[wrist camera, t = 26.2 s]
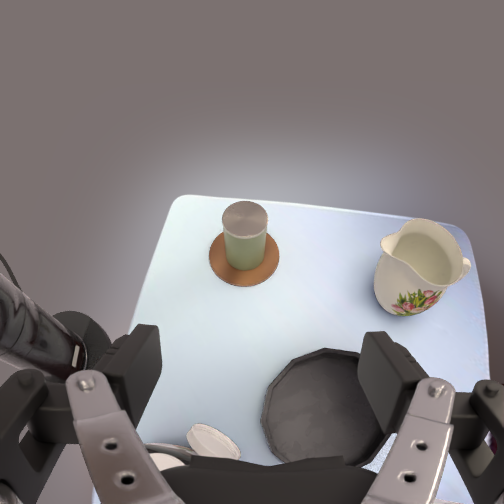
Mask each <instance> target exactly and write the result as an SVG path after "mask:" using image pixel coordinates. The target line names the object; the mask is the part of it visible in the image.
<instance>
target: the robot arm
mask: <svg viewBox="0 0 504 504" xmlns="http://www.w3.org/2000/svg"><path fill="white" fill-rule="evenodd" d="M0 260H1V261H2V263H3V264H4V266H5V268H6V269H7V271H8V273H9V275H10V277H11V279H12V281H13V283H14V284H13V283H12V282H10V281H9V280H8V279H7V278H5V276H3V275H2V274H1V273H0V360H1V361H3V362H6V363H8V364H10V365H12V366H14V367H16V368H19V369H21V370H20V371H17V372H15V373H14V374H13V375H11V376H10V378H9V379H8V380H7V381H6V382H5V383H4V384H3V385H2V386H1V387H0V504H36V502H37V500H38V498H39V496H40V494H41V492H42V490H43V488H44V486H45V484H46V482H47V480H48V478H49V476H50V474H51V472H52V470H53V468H54V466H55V464H56V462H57V460H58V458H59V456H60V454H61V452H62V451H63V449H64V447H65V445H66V444H79V445H80V448H81V451H82V454H83V457H84V460H85V463H86V466H87V468H88V471H89V474H90V477H91V479H92V482H93V484H94V487H95V490H96V492H97V494H98V497H99V499H100V502H101V504H433V503H434V500H435V497H436V494H437V491H438V488H439V484H440V481H441V478H442V474H443V471H444V467H445V463H446V459H447V455H448V452H449V454H450V456H451V458H452V460H453V462H454V464H455V466H456V468H457V469H458V471H459V473H460V475H461V477H462V479H463V481H464V483H465V485H466V487H467V489H468V492H469V494H470V496H471V498H472V500H473V502H474V504H504V386H503V385H501V384H500V383H498V382H495V381H492V380H480V381H478V382H477V383H476V384H475V386H474V389H473V391H472V393H466V392H455V389H454V387H453V386H452V385H451V384H450V383H449V382H447V381H446V380H443V379H440V378H434V377H429V376H428V375H427V373H426V372H425V371H424V370H423V368H422V367H421V366H420V365H419V363H418V362H416V360H415V359H414V357H413V356H412V355H411V354H410V353H409V351H408V350H407V349H406V348H405V347H403V346H401V345H400V344H398V343H396V342H395V343H394V342H393V341H392V339H391V338H390V337H389V336H388V334H387V333H386V332H385V331H380V332H366V334H365V336H364V339H363V344H362V349H361V354H360V359H359V363H358V370H357V373H358V380H359V382H360V384H361V386H362V388H363V390H364V392H365V394H366V397H367V399H368V401H369V403H370V405H371V407H372V409H373V411H374V413H375V416H376V418H377V420H378V422H379V424H380V426H381V428H382V431H383V433H384V435H386V434H392V433H397V436H396V439H395V441H394V443H393V445H392V447H391V449H390V451H389V453H388V455H387V457H386V459H385V461H384V463H383V465H382V467H381V469H380V471H379V473H378V474H377V473H375V472H373V471H370V470H367V469H364V468H360V467H355V466H348V465H345V462H344V458H343V455H341V456H331V457H319V458H306V459H302V460H298V461H293V462H289V463H284V464H280V465H275V466H263V465H258V464H253V463H248V462H244V461H239V460H235V459H231V458H221V457H208V456H198V455H191V460H190V464H189V465H182V466H176V467H172V468H168V469H165V470H162V471H159V469H158V467H157V466H156V464H155V463H154V461H153V459H152V458H151V456H150V454H149V453H148V451H147V449H146V448H145V446H144V444H143V442H142V441H141V439H140V437H139V435H138V434H137V432H136V428H137V426H138V423H139V421H140V419H141V417H142V414H143V412H144V410H145V408H146V406H147V403H148V401H149V399H150V397H151V395H152V392H153V390H154V388H155V386H156V384H157V381H158V379H159V377H160V375H161V370H162V356H161V346H160V336H159V329H158V327H157V326H155V325H145V324H138V325H137V326H136V327H135V329H134V330H133V331H132V332H131V334H130V335H123V336H122V337H120V338H118V339H116V340H115V341H114V343H113V344H112V345H111V346H110V348H109V349H108V350H107V351H106V352H105V354H104V355H103V356H102V357H101V358H100V360H99V361H98V362H97V363H96V365H95V366H94V367H93V368H92V370H87V367H88V363H89V353H88V349H87V346H86V344H85V342H84V340H83V339H82V338H81V337H80V336H79V335H77V334H76V333H75V332H73V331H71V330H70V329H68V328H67V327H66V326H64V325H63V324H62V323H60V322H59V321H58V320H56V319H55V318H54V317H53V316H51V315H50V314H49V313H47V312H46V311H45V310H44V309H42V308H41V307H40V306H39V305H38V304H36V303H35V302H34V301H33V300H31V299H30V298H29V297H28V296H27V295H25V294H24V293H23V291H22V290H21V288H20V287H19V285H18V283H17V281H16V279H15V277H14V275H13V273H12V271H11V269H10V267H9V265H8V264H7V262H6V260H5V259H4V258H3V256H2V255H1V254H0ZM46 381H49V382H51V383H46ZM26 425H27V427H28V429H29V430H28V432H27V433H26V435H25V436H24V437H23V439H22V440H21V442H20V443H19V435H20V433H21V431H22V430H23V428H24V427H25V426H26ZM489 431H490V432H491V433H492V435H493V436H494V438H495V439H496V441H497V452H496V454H495V456H494V454H493V453H492V451H491V450H490V448H489V447H488V445H487V443H486V442H485V440H484V439H485V437H486V435H487V434H488V432H489Z"/></svg>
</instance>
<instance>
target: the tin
mask: <svg viewBox="0 0 504 504" xmlns="http://www.w3.org/2000/svg"><path fill="white" fill-rule="evenodd" d="M222 223H223V230H224V241H225V251H226V259H227V261H228V263H229V264H230V265H231V266H232V267H234V268H236V269H238V270H243V271H247V270H252V269H254V268H256V267H258V266H259V265H260V264H261V263H262V261H263V259H264V252H265V242H266V231H267V224H268V216H267V213H266V211H265V210H264V208H263V207H261V206H260V205H258V204H256V203H254V202H250V201H240V202H236V203H234V204H232V205H230V206H229V207H228V208H227V209H226V210H225V211H224V213H223V216H222Z"/></svg>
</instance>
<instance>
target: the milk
mask: <svg viewBox="0 0 504 504" xmlns="http://www.w3.org/2000/svg"><path fill="white" fill-rule="evenodd" d="M433 504H462V503H456V502H451V501H445V500H440V499H436V498H435V500H434V503H433Z"/></svg>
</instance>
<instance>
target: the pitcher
mask: <svg viewBox="0 0 504 504" xmlns="http://www.w3.org/2000/svg"><path fill="white" fill-rule="evenodd" d="M380 246H381V248H382V250H383V251H384V252H383V254H382V256H381V258H380V260H379V262H378V264H377V267H376V270H375V275H374V291H375V295H376V298H377V300H378V302H379V303H380V305H381V306H382V307H383V308H384V309H385V310H386V311H388V312H389V313H391V314H394V315H398V316H411V315H415V314H419V313H421V312H423V311H425V310H427V309H429V308H430V307H432V306H433V305H434V304H435V303H437V302H438V301H439V299H440V298H441V297H442V296H443V294H444V293H445V291H446V289H447V287H448V286H450V285H453V284H455V283H457V282H458V281H460V280H461V279H462V278H464V277H465V276H466V275H467V273H468V272H469V270H470V268H471V264H470V261H469V260H468V259H467V258H463V255H462V252H461V249H460V247H459V245H458V243H457V241H456V240H455V239H454V237H453V236H452V235H451V234H450V233H449V232H448V231H447V230H446V229H445V228H444V227H442V226H441V225H439V224H437V223H436V222H433V221H431V220H427V219H420V218H418V219H412V220H409V221H408V222H406V223H405V224H404V225H403V227H402V228H401V229H400V230H399V231H398V232H397V233H393V234H390V235H387V236H385V237H384V238H382V240H381V242H380Z"/></svg>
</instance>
